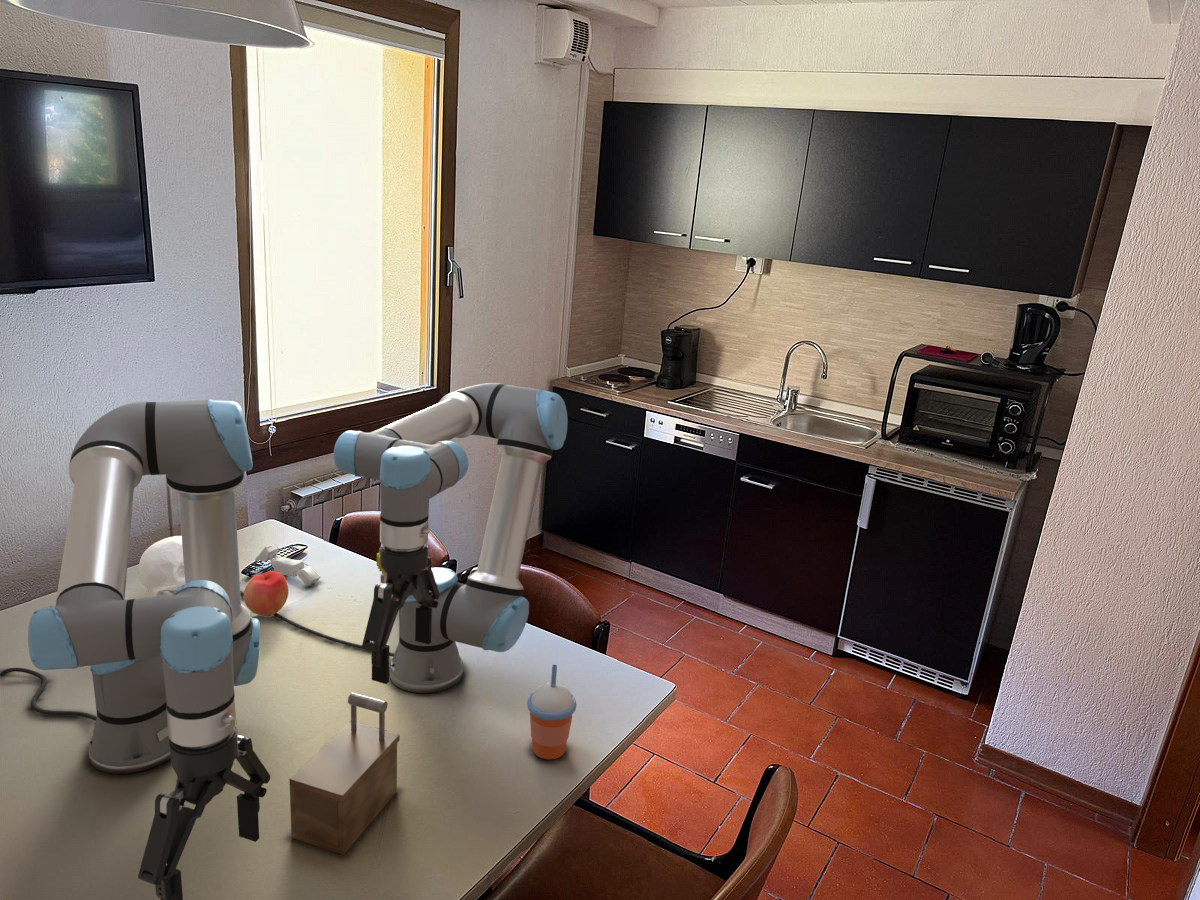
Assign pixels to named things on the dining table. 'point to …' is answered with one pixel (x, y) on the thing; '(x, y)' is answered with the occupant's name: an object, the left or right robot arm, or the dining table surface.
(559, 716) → the cup with straw
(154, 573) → the skull
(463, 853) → the dining table surface
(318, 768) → the lid
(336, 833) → the chest
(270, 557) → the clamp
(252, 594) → the apple
